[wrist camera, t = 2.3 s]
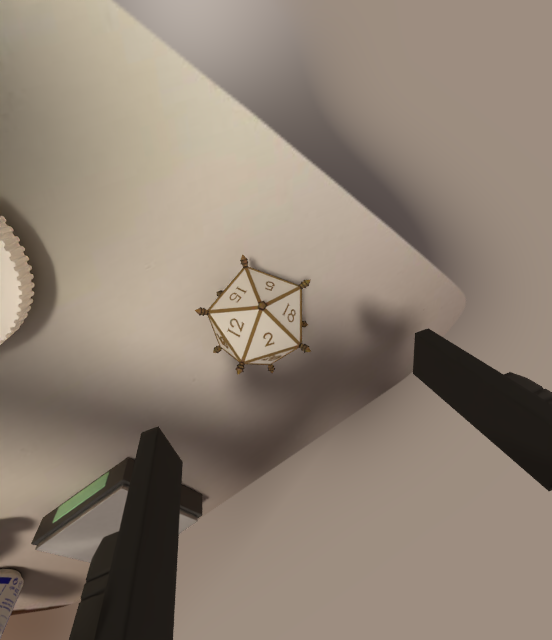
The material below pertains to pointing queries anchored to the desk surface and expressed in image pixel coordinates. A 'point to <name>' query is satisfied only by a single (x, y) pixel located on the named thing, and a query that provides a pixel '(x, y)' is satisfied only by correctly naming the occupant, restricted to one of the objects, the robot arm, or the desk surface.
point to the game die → (258, 318)
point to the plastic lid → (13, 282)
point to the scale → (98, 490)
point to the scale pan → (95, 527)
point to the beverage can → (8, 594)
